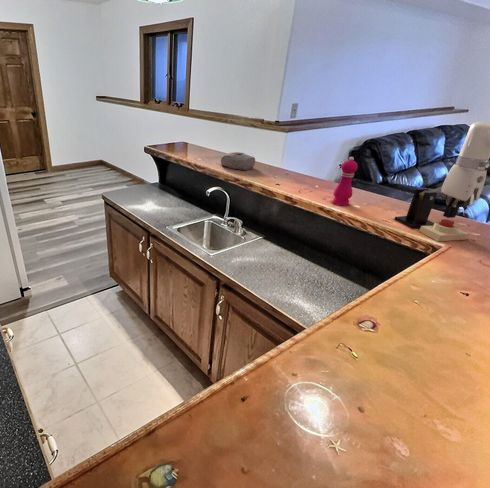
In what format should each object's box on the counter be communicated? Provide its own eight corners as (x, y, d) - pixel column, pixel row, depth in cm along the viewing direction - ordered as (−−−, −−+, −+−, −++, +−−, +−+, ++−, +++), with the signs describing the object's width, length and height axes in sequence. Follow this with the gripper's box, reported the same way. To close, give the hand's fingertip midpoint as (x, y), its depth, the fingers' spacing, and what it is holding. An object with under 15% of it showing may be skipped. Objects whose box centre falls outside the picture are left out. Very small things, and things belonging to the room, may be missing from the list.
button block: (445, 230, 126) (450, 219, 124) (466, 239, 119) (470, 228, 117) (418, 231, 124) (422, 221, 123) (437, 241, 117) (442, 230, 116)
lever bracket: (417, 218, 136) (428, 186, 130) (436, 227, 128) (449, 194, 122) (394, 219, 135) (404, 187, 129) (412, 228, 127) (424, 195, 121)
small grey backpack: (257, 167, 205) (228, 161, 217) (259, 153, 201) (230, 148, 214) (243, 172, 195) (214, 165, 207) (245, 157, 191) (215, 151, 204)
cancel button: (445, 223, 122) (447, 219, 121) (455, 227, 119) (457, 223, 118) (436, 224, 121) (438, 219, 121) (445, 228, 118) (447, 223, 117)
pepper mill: (337, 199, 155) (348, 154, 146) (353, 204, 149) (365, 157, 140) (327, 202, 151) (338, 156, 142) (343, 207, 146) (355, 159, 137)
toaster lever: (452, 182, 129) (452, 176, 127) (464, 186, 124) (464, 180, 123) (415, 197, 129) (415, 191, 128) (426, 202, 125) (426, 196, 124)
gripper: (504, 169, 104) (478, 225, 113) (460, 157, 118) (439, 208, 126) (483, 169, 103) (458, 226, 112) (440, 158, 116) (421, 209, 125)
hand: (448, 216), depth 119 cm, fingers closed
